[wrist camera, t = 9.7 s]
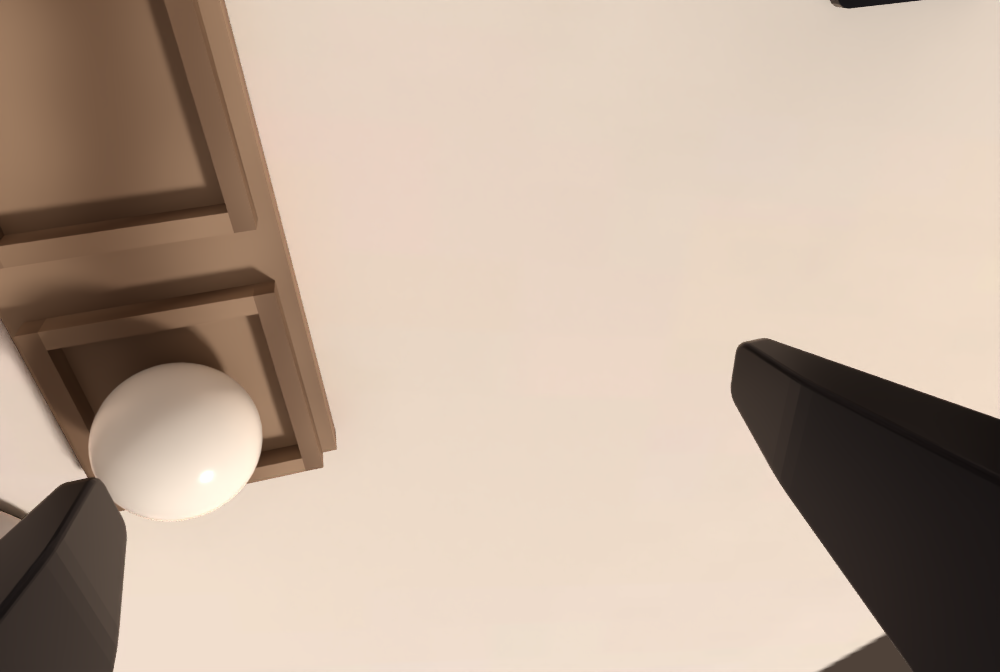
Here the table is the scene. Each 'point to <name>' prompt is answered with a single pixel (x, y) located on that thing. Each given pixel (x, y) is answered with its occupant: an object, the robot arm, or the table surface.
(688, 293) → the table surface
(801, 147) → the table surface
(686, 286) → the table surface
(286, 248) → the rack
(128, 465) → the white smooth ball
